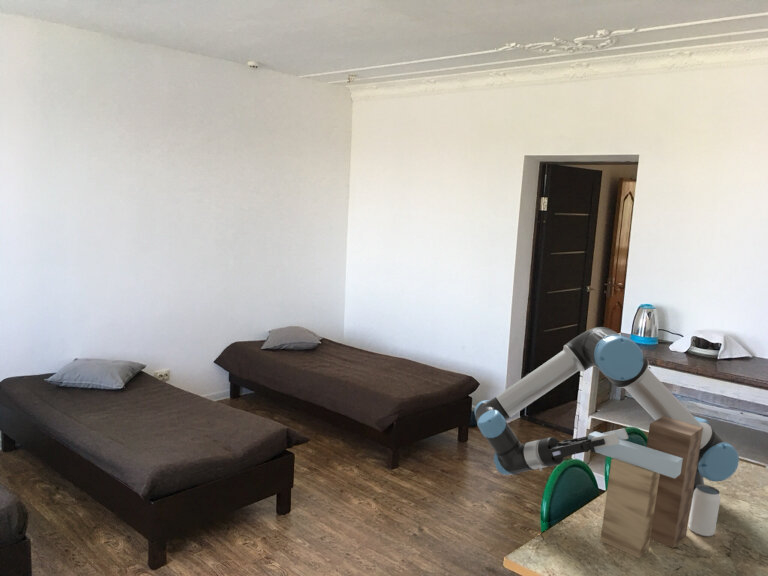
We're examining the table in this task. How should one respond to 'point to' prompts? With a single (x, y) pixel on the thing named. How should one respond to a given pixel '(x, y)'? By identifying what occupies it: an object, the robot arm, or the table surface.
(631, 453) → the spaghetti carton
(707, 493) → the can
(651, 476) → the oak step
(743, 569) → the table surface
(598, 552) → the table surface
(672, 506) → the walnut block
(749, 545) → the table surface
